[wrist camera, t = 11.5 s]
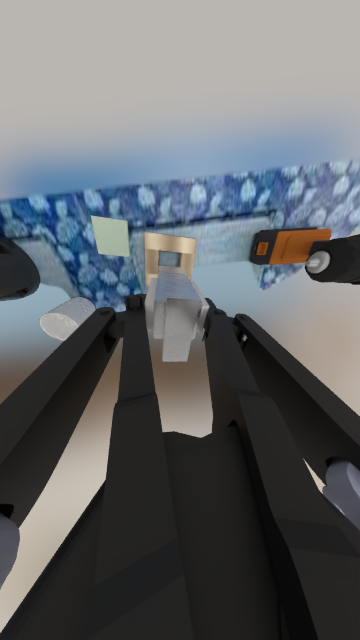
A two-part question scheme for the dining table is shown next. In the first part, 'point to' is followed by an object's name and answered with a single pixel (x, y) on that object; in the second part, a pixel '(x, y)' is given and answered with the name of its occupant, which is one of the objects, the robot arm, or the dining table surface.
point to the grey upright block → (175, 312)
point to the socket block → (167, 243)
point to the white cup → (66, 317)
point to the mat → (111, 236)
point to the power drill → (311, 253)
